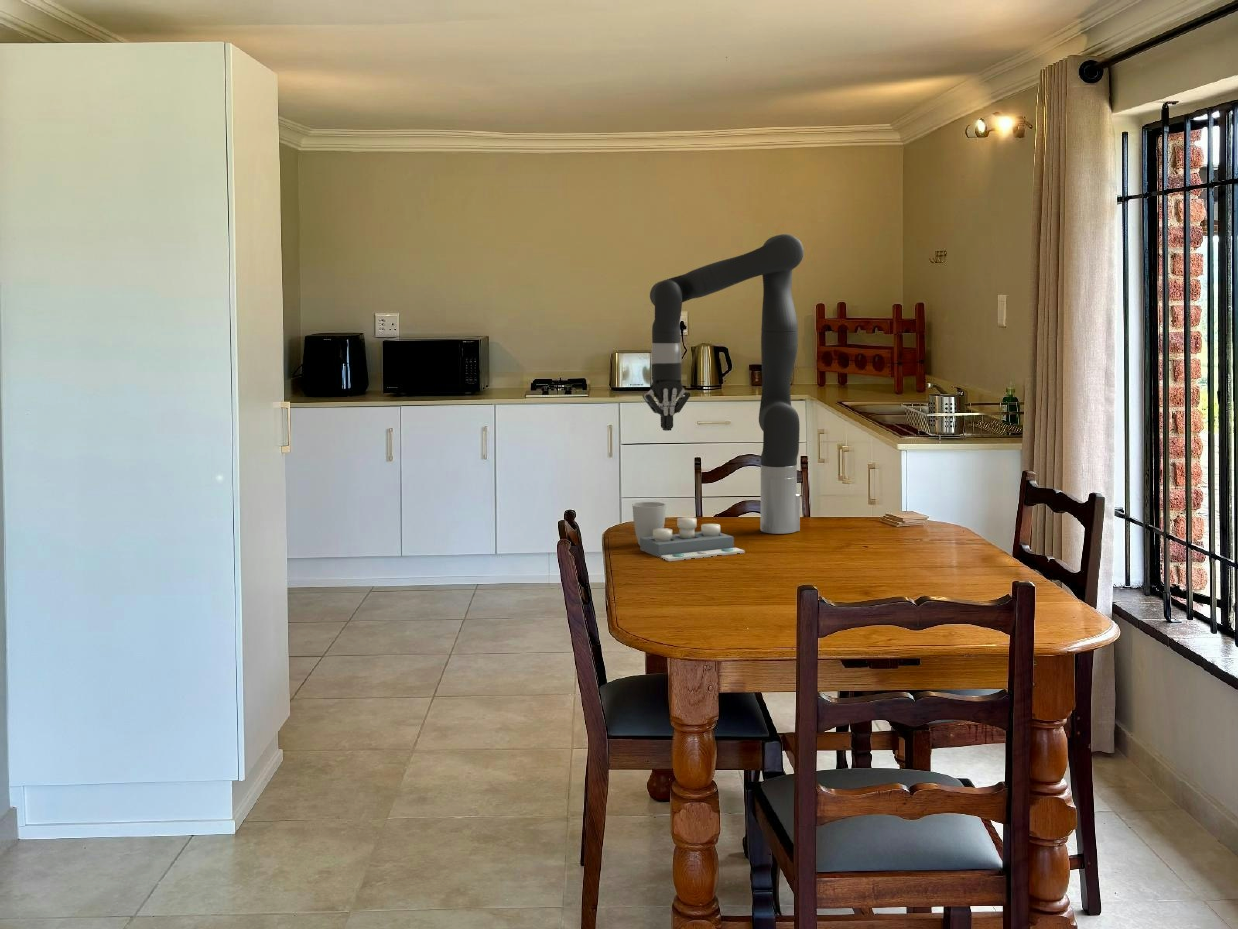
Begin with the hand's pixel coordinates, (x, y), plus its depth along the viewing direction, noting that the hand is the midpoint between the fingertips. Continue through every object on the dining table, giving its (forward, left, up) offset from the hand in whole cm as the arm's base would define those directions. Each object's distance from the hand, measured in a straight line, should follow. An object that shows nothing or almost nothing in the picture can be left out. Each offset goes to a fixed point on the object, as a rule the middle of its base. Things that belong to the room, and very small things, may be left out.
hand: (666, 430), depth 296 cm
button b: (+4, +18, -24) cm, 30 cm away
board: (+4, +18, -27) cm, 33 cm away
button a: (-3, +18, -26) cm, 32 cm away
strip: (+4, +26, -27) cm, 38 cm away
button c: (+11, +18, -26) cm, 34 cm away
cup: (+9, +8, -27) cm, 30 cm away
